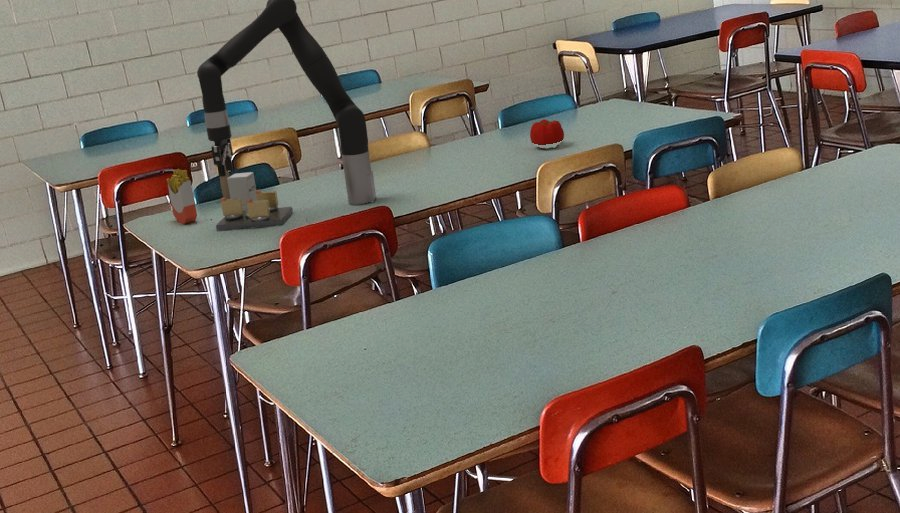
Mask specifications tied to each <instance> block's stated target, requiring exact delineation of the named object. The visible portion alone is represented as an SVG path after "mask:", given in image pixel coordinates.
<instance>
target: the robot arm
mask: <svg viewBox="0 0 900 513" xmlns="http://www.w3.org/2000/svg"><path fill="white" fill-rule="evenodd" d="M265 5H266V7H265V8H264V9H263V11H262V12H261V13H260V14H259V15H258V16H257V17H256V18H255V20H253V21H252V22H251V23H250V24H249V25H246V27H244V28H243V29H242V30H240V31H239V32H237V33H236V34H235V35H233V37H231V38H230V39H229V40H228V41H226V43H225V44H223V46H221V48H220V49H218V51H217V52H216V53H214V54H213V55H211V56H210V57H209V58H207V59H206V60H205V61H204V62H203V63H202V64H200V65H199V66H198V68H197V73H196V74H197V78H198V81H199V86H200V90H201V94H202V97H201V99H202V107H203V112H204V122H205V123H204V124H205V127H206V128H205V129H206V132H207V139H208V141H210V142H214V145H213V146H211V155H212V159H213V160H212V161H213V164H214V166H216V168H217V172H218V176H219V178H220V177H222V176H226V172H225V166H226V170H227V171H228V172H230V171H233V169H234V167H233V166H234V165H233V160H232V159H233V156H234V151H233V147H232V141H231V140H232V139H231V138H232V132H231V130H232V129H231V125H230V120H229V119H230V118H229V113H228V111H227V107H226V101H225V97H224V93H223V82H222V76H223V75H224V74H226V72H228V71H229V70H230V69H232V68H234V67H235V66H236V65H238V64H239V63H240V62H241V61H242V60H243V59H244V58H245V57H247V55H249V54H250V53H251V52H252V51H253V50H254V49H255V48H256V47H257V46H258V44H260V43H261V42H262V41H263V40H264V39H266V38H267V37H268V36H270V34H272V33H273V32H274V31H275V30H277V29H278V30H279V31H280V32H281V34H282V35H283V36H284V38H285V39H286V41H287V44H288V45H289V47H290V49H291V51H292V53H293V55H294V57H295V59H296V60H297V62H298V64H299V66H300V67H301V69H302V71H303V72H304V74H305V76H306V77H307V79H308V80H309V81H310V83H311V84H312V85H313V87H314V88H315V89H316V90H317V92H319V94H320V95H321V96H322V98H323V99H324V100H325V102H326V103H327V106H328V108H329V110H331V113H332V116H333V117H334V120H335V122H336V125H337V127H338V133H339V140H340V152H341V159H342V160H341V161H342V166H343V173H344V181H345V188H346V193H347V199H348V200H347V201H348V204H350V205H354V206H356V205H357V206H358V205H366V204H365V203H367V204H369V203H368V202H371V203H373V202H372V201H374V200H375V201H376V199H377V194H376V192H377V191H376V185H375V178H374V172H373V170H372V165H371V158H370V152H369V139H368V138H369V137H368V130H367V122H366V118H365V117H366V116H365V114H364V112H363V110H361V109H360V107H358V106H357V105H356V103H355V102H354V101H353V99H351V98H352V97H350V96H349V95H348V92H346V90H345V88H344V87H343V84H342V83H341V82H342V81H341V80H340V78H339V76H338V72H337V71H336V69H335V66H334V65H333V63H332V62H331V60H330V58H329V57H328V54H327V53H326V51H325V50H324V49H323V47H322V46H321V45H320V44H319V42H318V41H317V40H316V39H315V38H314V36H313V35H312V34H311V33H310V31H308V29H307V28H306V26H305V25H304V23H303V21H302V20H301V18H300V16H299V14H298V12H297V10H298V9H297V4H296V2H295V0H267V1H266V4H265ZM224 159H226V160H224ZM218 160H219V161H218ZM224 161H225V166H224ZM375 198H376V199H375ZM375 201H374V202H375Z"/></svg>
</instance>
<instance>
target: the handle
mask: <svg viewBox="0 0 900 513" xmlns="http://www.w3.org/2000/svg"><path fill="white" fill-rule="evenodd" d="M224 160H226V159H224ZM218 161H219V160H218ZM224 166H225V161H224ZM225 172H226V176H222V177H220V176H219V181H220V188H221V193H222V197H226V199H230V193H229V187H228V181H227V178H229V177H230V176H231V175H230V171H227V170H226V166H225Z"/></svg>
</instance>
